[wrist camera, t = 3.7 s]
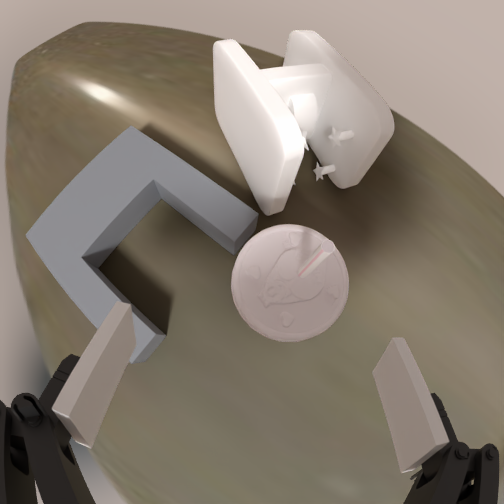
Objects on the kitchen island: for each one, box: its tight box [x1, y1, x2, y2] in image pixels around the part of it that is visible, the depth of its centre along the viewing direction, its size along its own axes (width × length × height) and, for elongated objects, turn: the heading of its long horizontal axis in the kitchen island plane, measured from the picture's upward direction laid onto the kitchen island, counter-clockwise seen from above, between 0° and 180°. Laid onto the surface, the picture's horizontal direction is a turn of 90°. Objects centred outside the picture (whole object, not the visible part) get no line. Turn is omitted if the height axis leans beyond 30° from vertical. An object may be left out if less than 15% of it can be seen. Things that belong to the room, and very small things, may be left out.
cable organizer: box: [213, 30, 394, 216], centre depth 24 cm, size 15×11×12 cm
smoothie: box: [231, 224, 349, 342], centre depth 17 cm, size 6×6×14 cm
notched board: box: [26, 126, 259, 364], centre depth 23 cm, size 16×15×4 cm
